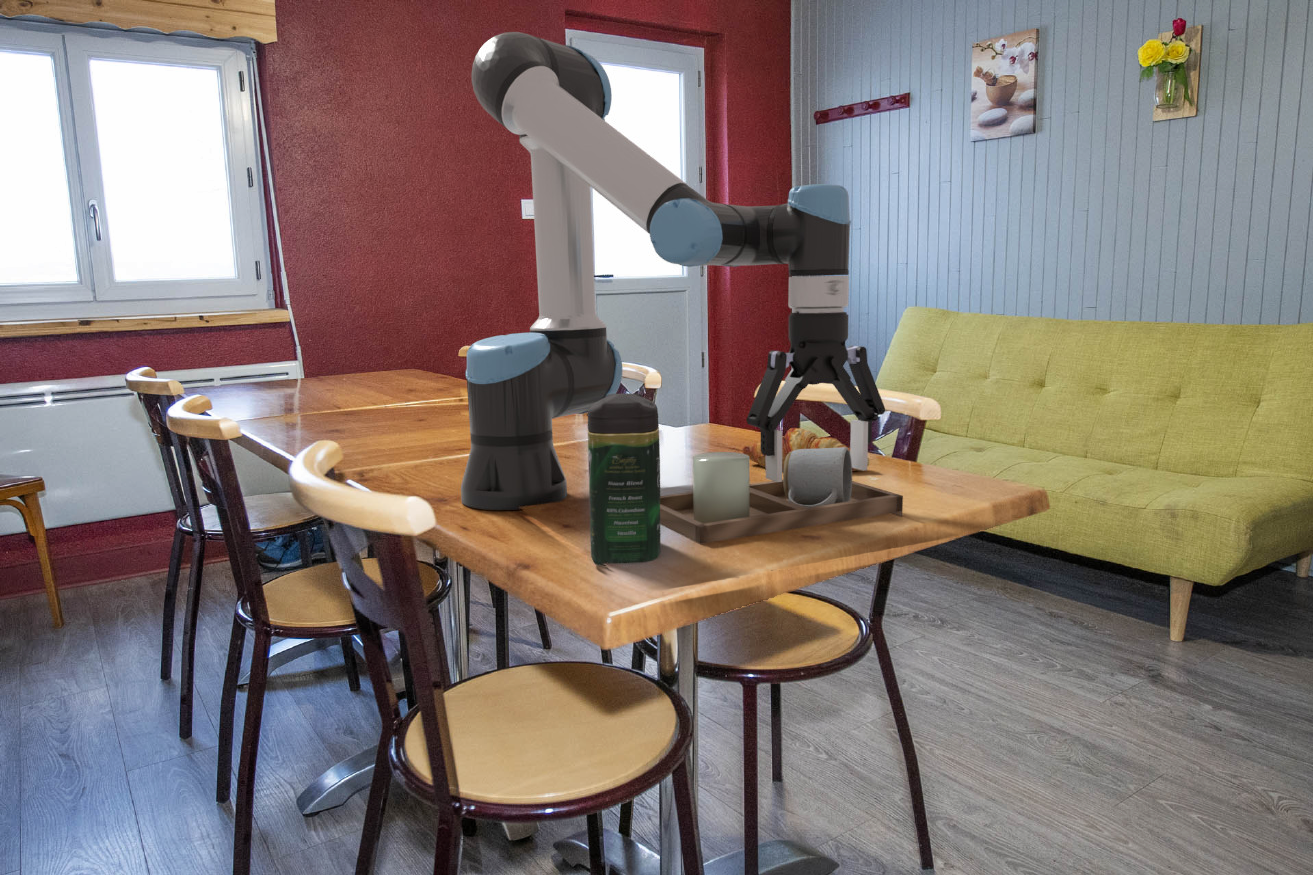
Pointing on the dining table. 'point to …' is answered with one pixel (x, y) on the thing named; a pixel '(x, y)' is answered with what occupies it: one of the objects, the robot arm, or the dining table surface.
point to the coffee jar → (624, 479)
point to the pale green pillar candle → (721, 486)
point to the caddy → (774, 512)
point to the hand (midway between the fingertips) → (817, 474)
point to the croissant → (794, 445)
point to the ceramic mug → (818, 476)
